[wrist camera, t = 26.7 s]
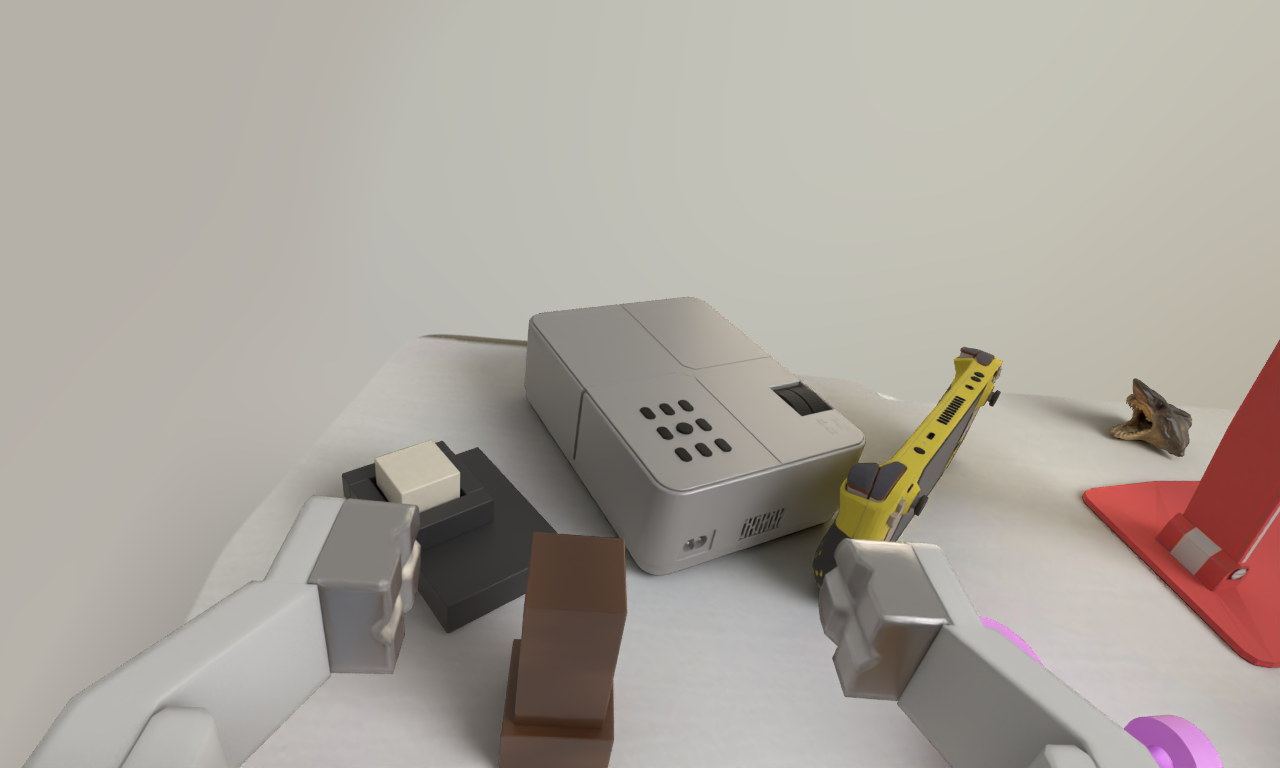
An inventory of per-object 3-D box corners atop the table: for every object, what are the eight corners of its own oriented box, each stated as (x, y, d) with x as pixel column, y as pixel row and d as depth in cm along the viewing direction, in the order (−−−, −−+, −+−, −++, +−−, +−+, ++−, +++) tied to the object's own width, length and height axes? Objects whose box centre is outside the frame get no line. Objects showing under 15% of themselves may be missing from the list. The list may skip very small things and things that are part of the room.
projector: (645, 591, 42) (667, 495, 38) (517, 394, 57) (523, 311, 53) (843, 523, 50) (880, 438, 46) (684, 366, 65) (700, 292, 61)
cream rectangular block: (402, 521, 39) (401, 494, 38) (375, 484, 41) (373, 457, 40) (460, 498, 41) (460, 472, 40) (432, 464, 43) (432, 438, 42)
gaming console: (853, 634, 42) (913, 513, 36) (792, 594, 44) (839, 473, 38) (970, 456, 60) (1021, 358, 54) (922, 433, 62) (967, 336, 56)
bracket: (1153, 855, 33) (1243, 779, 29) (1055, 868, 32) (1135, 790, 28) (996, 627, 44) (1047, 550, 40) (918, 631, 43) (963, 551, 39)
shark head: (1119, 459, 63) (1160, 398, 59) (1075, 418, 68) (1109, 359, 65) (1193, 463, 64) (1237, 403, 61) (1143, 422, 70) (1181, 365, 66)
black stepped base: (425, 645, 37) (424, 595, 35) (344, 519, 43) (339, 470, 41) (567, 572, 42) (574, 525, 40) (477, 470, 49) (478, 425, 47)
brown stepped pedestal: (498, 772, 32) (509, 616, 26) (510, 675, 36) (522, 521, 30) (606, 776, 32) (640, 624, 27) (605, 680, 37) (635, 530, 31)
